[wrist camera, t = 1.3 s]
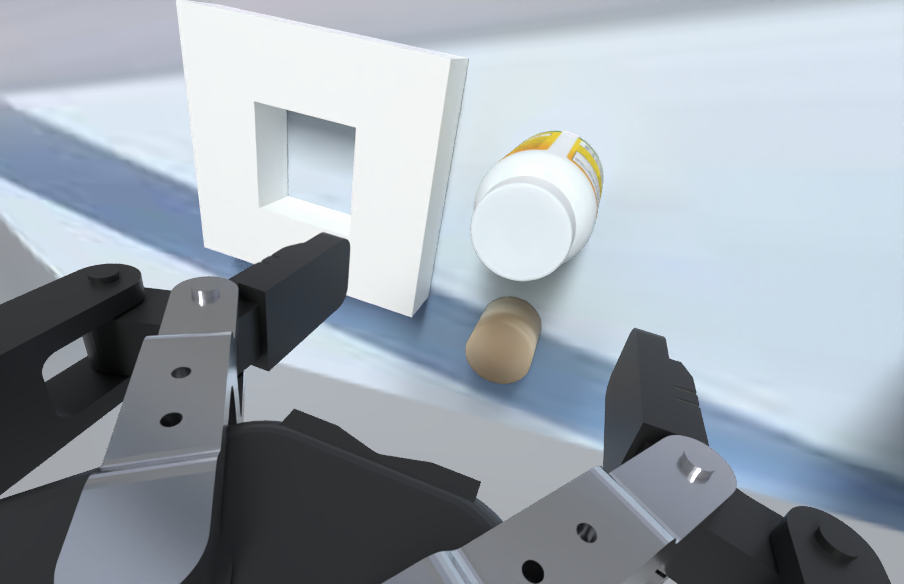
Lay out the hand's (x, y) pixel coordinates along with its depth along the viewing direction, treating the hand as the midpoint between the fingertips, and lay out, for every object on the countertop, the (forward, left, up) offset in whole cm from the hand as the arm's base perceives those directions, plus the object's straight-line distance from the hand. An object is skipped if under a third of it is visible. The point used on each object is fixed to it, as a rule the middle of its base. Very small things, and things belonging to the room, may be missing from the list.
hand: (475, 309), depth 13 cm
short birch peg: (0, +10, -16) cm, 18 cm away
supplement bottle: (0, 0, -16) cm, 16 cm away
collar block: (+14, +2, -16) cm, 21 cm away
